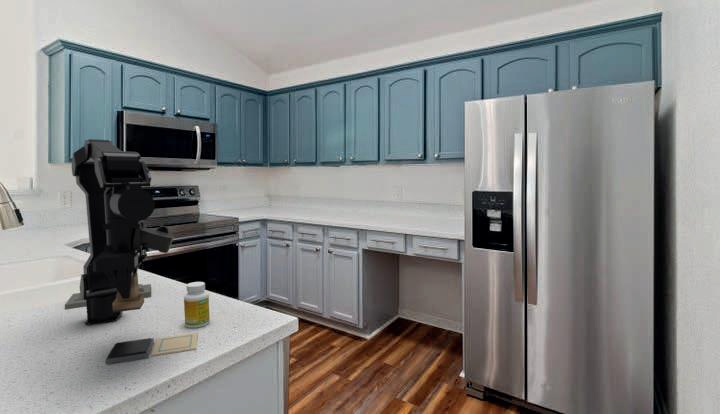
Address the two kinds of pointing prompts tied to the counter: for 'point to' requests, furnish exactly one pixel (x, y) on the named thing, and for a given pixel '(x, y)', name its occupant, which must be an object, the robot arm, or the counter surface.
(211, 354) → the counter surface
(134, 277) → the stamp
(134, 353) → the ink pad
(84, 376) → the counter surface
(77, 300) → the soap mold
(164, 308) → the counter surface
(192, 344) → the card
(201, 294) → the supplement bottle
